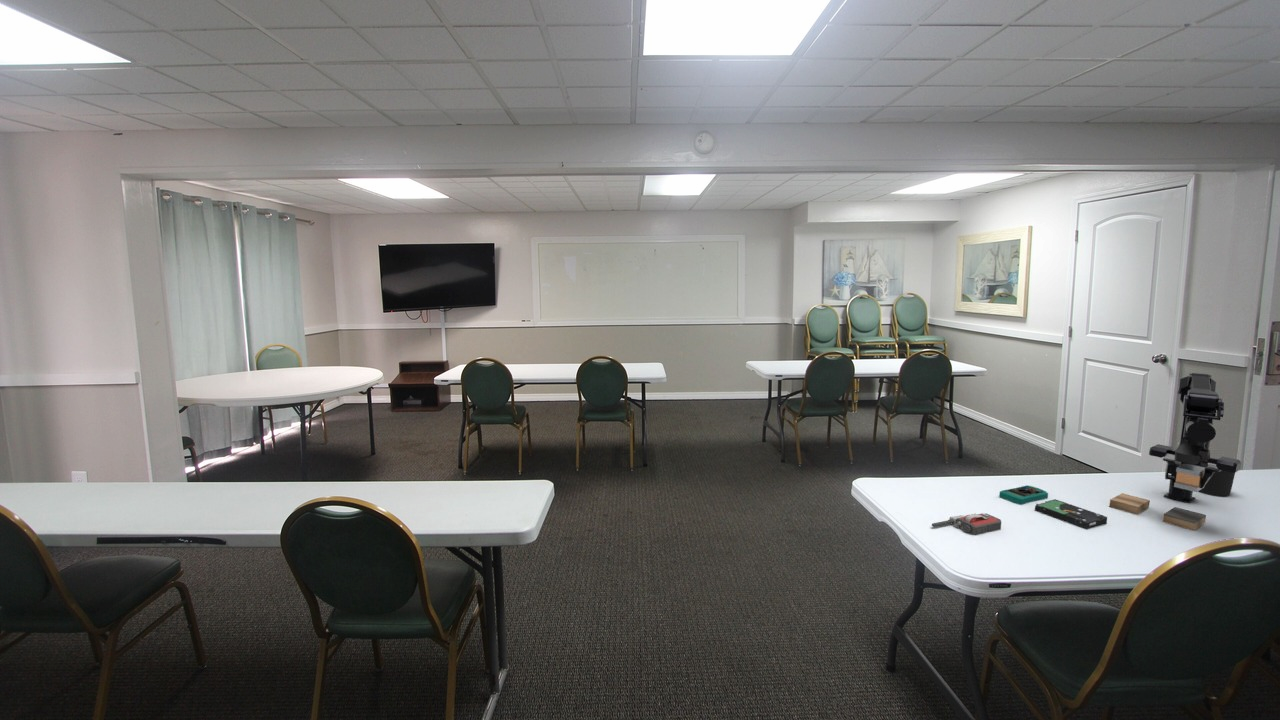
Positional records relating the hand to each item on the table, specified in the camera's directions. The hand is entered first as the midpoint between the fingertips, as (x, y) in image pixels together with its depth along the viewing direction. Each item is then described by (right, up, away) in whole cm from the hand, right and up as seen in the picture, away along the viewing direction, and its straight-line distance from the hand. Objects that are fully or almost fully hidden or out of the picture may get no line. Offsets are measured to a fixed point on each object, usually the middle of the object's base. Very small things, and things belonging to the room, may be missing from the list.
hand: (1189, 485), depth 166 cm
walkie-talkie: (-68, -13, -2) cm, 69 cm away
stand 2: (0, -12, +2) cm, 12 cm away
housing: (0, -1, 0) cm, 1 cm away
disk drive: (-32, -12, +5) cm, 34 cm away
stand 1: (-7, -10, +13) cm, 17 cm away
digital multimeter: (-36, -9, +20) cm, 42 cm away
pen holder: (+33, -8, +26) cm, 43 cm away
